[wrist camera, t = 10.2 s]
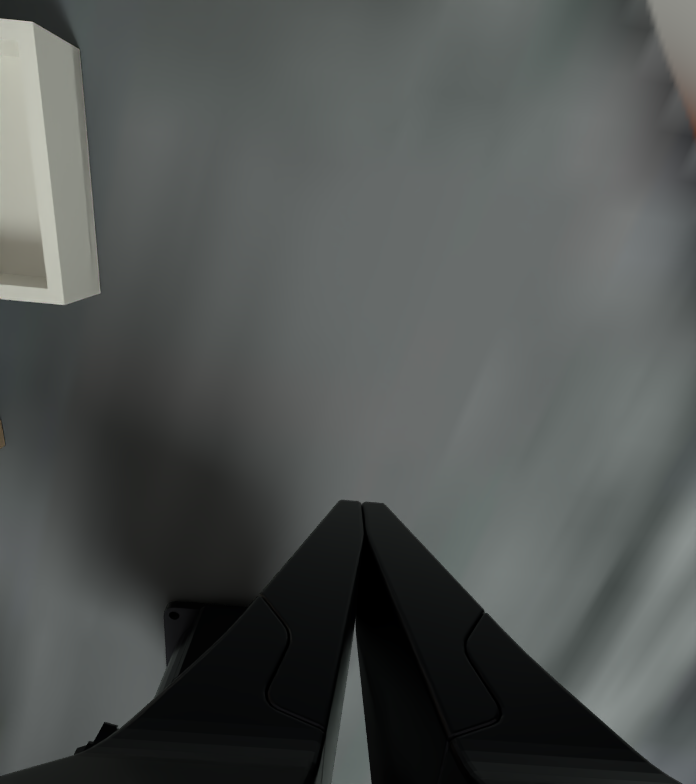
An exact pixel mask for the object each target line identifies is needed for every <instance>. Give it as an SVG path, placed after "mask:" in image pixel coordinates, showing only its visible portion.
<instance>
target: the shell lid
mask: <svg viewBox="0 0 696 784" xmlns="http://www.w3.org/2000/svg"><path fill="white" fill-rule="evenodd" d="M100 293H101V290H100V279H99V267H98V255H97V244H96V232H95V220H94V209H93V197H92V185H91V174H90V162H89V150H88V138H87V127H86V115H85V103H84V92H83V80H82V68H81V57H80V49H78V48H76V47H75V46H73V45H71V44H70V43H68V42H66V41H65V40H63V39H61V38H59V37H58V36H56V35H54V34H53V33H51V32H49V31H48V30H46V29H44V28H42V27H41V26H39V25H37V24H36V23H34V22H30V21H20V20H11V19H1V18H0V299H5V300H16V301H26V302H37V303H48V304H58V305H66V304H69V303H73V302H76V301H79V300H82V299H85V298H88V297H91V296H94V295H97V294H100Z"/></svg>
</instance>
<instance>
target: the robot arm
mask: <svg viewBox="0 0 696 784" xmlns="http://www.w3.org/2000/svg"><path fill="white" fill-rule="evenodd" d="M174 612H177V613H174ZM355 621H356V638H357V648H358V658H359V667H360V677H361V686H362V696H363V705H364V715H365V724H366V733H367V743H368V752H369V762H370V771H371V781H372V784H682V783H680V782H679V781H677V780H675V779H673V778H672V777H670V776H668V775H667V774H665V773H664V772H662V771H661V770H660V769H658V768H657V767H655V766H654V765H653V764H651V763H650V762H649V761H647V760H646V759H645V758H644V757H643V756H641V755H640V754H639V753H638V752H637V751H635V750H634V749H633V748H632V747H631V746H630V745H629V744H627V743H626V742H625V741H624V740H623V739H622V738H621V737H619V736H618V735H617V734H616V733H615V732H614V731H613V730H612V729H610V728H609V727H608V726H607V725H606V724H605V723H604V722H603V721H601V720H600V719H599V718H598V717H597V716H596V715H595V714H593V713H592V712H591V711H590V710H589V709H588V708H587V707H586V706H584V705H583V704H582V703H581V702H580V701H579V700H578V699H577V698H575V697H574V696H573V695H572V694H571V693H570V692H569V691H567V690H566V689H565V688H564V687H563V686H562V685H561V684H560V683H558V682H557V681H556V680H555V679H554V678H553V677H552V676H551V675H550V674H549V673H547V672H546V671H545V670H544V669H543V668H542V667H541V666H540V665H539V664H538V663H537V662H536V661H534V660H533V659H532V658H531V657H530V656H529V655H528V654H527V653H526V652H525V651H524V650H523V649H522V648H521V647H520V646H519V645H518V644H517V643H516V642H515V641H514V640H513V639H512V638H511V637H510V636H509V635H508V634H507V633H506V632H505V631H504V630H503V629H502V628H501V627H500V626H499V625H498V624H497V623H496V622H495V621H494V620H493V618H492V617H491V616H490V615H489V614H488V613H485V611H484V609H483V608H482V607H481V606H480V605H479V604H478V603H477V602H476V601H475V600H474V599H473V597H472V596H471V595H470V594H469V593H468V592H467V591H466V590H465V589H464V588H463V587H462V586H461V585H460V584H459V583H458V582H457V580H456V579H455V578H454V577H453V576H452V575H451V574H450V573H449V572H448V571H447V570H446V569H445V568H444V567H443V566H442V565H441V563H440V562H439V561H438V560H437V559H436V558H435V557H434V556H433V555H432V554H431V553H430V552H429V551H428V550H427V549H426V547H425V546H424V545H423V544H422V543H421V542H420V541H419V540H418V539H417V538H416V537H415V536H414V535H413V534H412V533H411V532H410V530H409V529H408V528H407V527H406V526H405V525H404V524H403V523H402V522H401V521H400V520H399V519H398V518H397V517H396V516H395V515H394V513H393V512H392V511H391V510H390V509H389V508H388V507H387V506H386V505H385V504H383V503H376V502H364V503H363V504H362V505H361V503H360V502H359V501H350V500H340V501H338V503H337V504H336V505H335V506H334V507H333V508H332V510H331V511H330V512H329V513H328V514H327V516H326V517H325V518H324V519H323V520H322V521H321V523H320V524H319V525H318V526H317V527H316V529H315V530H314V531H313V532H312V533H311V534H310V536H309V537H308V538H307V539H306V540H305V541H304V543H303V544H302V545H301V546H300V547H299V549H298V550H297V551H296V552H295V553H294V554H293V556H292V557H291V558H290V559H289V560H288V562H287V563H286V564H285V565H284V566H283V567H282V569H281V570H280V571H279V572H278V573H277V574H276V576H275V577H274V578H273V579H272V580H271V582H270V583H269V584H268V585H267V586H266V587H265V589H264V590H263V591H262V592H261V593H260V595H259V597H257V598H256V599H255V600H254V601H253V602H252V604H251V605H250V606H249V607H240V606H228V605H215V604H203V603H190V602H178V601H175V602H171V603H169V604H168V605H167V607H166V610H165V612H164V627H165V645H166V664H167V668H166V671H165V673H164V676H163V678H162V680H161V683H160V685H159V688H158V690H157V693H156V695H155V697H154V699H153V700H152V701H151V702H150V703H148V704H147V705H146V706H145V707H144V708H143V709H142V710H141V711H140V712H139V713H137V714H136V715H135V716H134V717H133V718H132V719H131V720H129V721H128V722H127V723H126V724H125V725H124V726H122V727H121V728H120V729H118V728H117V727H118V725H114V724H110V723H107V722H104V724H103V726H102V727H101V729H100V731H99V733H98V735H97V737H96V738H95V740H94V741H93V742H91V741H89V742H88V744H87V745H86V746H82V747H79V748H77V750H76V751H75V753H74V755H72V756H69V757H66V758H62V759H59V760H55V761H52V762H48V763H45V764H41V765H38V766H34V767H31V768H27V769H24V770H20V771H17V772H13V773H10V774H6V775H2V776H0V784H331V780H332V774H333V767H334V761H335V754H336V747H337V741H338V734H339V727H340V721H341V714H342V708H343V701H344V694H345V688H346V681H347V674H348V668H349V661H350V655H351V648H352V641H353V633H354V625H355Z"/></svg>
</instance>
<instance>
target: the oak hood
mask: <svg viewBox="0 0 696 784" xmlns="http://www.w3.org/2000/svg"><path fill="white" fill-rule="evenodd" d="M4 446H5V441H4V435H3V429H2V423H1V420H0V449H1V448H2V447H4Z"/></svg>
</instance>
